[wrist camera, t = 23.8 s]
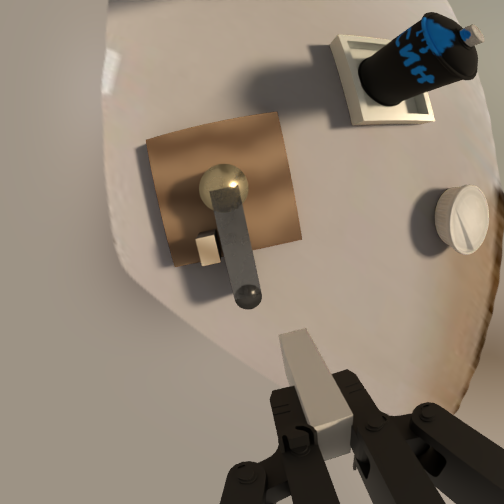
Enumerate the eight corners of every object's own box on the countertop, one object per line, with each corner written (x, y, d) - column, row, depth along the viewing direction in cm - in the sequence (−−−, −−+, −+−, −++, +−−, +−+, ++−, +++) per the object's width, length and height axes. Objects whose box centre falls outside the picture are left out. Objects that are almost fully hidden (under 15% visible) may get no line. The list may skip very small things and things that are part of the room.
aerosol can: (393, 57, 30) (480, 9, 10) (411, 105, 32) (512, 77, 12) (349, 57, 30) (432, -12, 10) (368, 108, 32) (472, 65, 12)
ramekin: (421, 238, 38) (442, 245, 33) (437, 172, 36) (458, 173, 31) (459, 254, 40) (479, 261, 35) (474, 196, 37) (494, 199, 32)
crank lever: (198, 171, 31) (194, 170, 27) (240, 162, 31) (242, 159, 27) (228, 299, 35) (229, 313, 31) (267, 291, 35) (272, 304, 31)
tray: (329, 44, 30) (338, 34, 26) (399, 51, 30) (411, 44, 27) (352, 125, 33) (363, 120, 30) (421, 124, 34) (434, 121, 30)
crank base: (150, 142, 31) (135, 134, 25) (274, 115, 32) (284, 101, 26) (177, 262, 35) (168, 278, 29) (298, 236, 36) (312, 246, 30)
